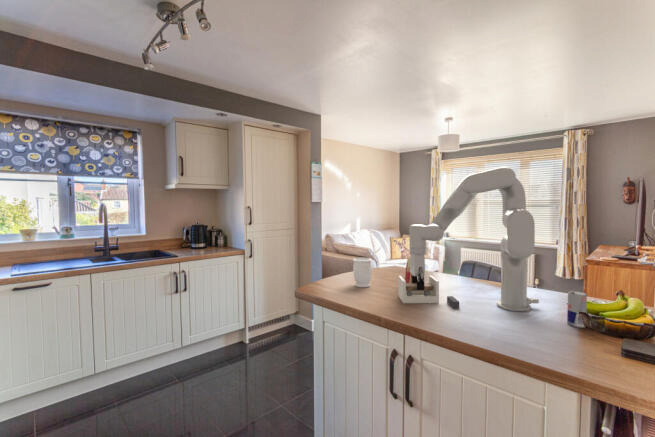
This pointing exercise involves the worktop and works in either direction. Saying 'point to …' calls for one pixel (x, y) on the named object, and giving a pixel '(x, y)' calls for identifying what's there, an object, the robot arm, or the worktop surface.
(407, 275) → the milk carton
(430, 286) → the board
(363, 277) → the jar
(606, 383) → the worktop surface
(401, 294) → the peg frame
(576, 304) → the energy drink
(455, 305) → the rubber block
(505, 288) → the robot arm
